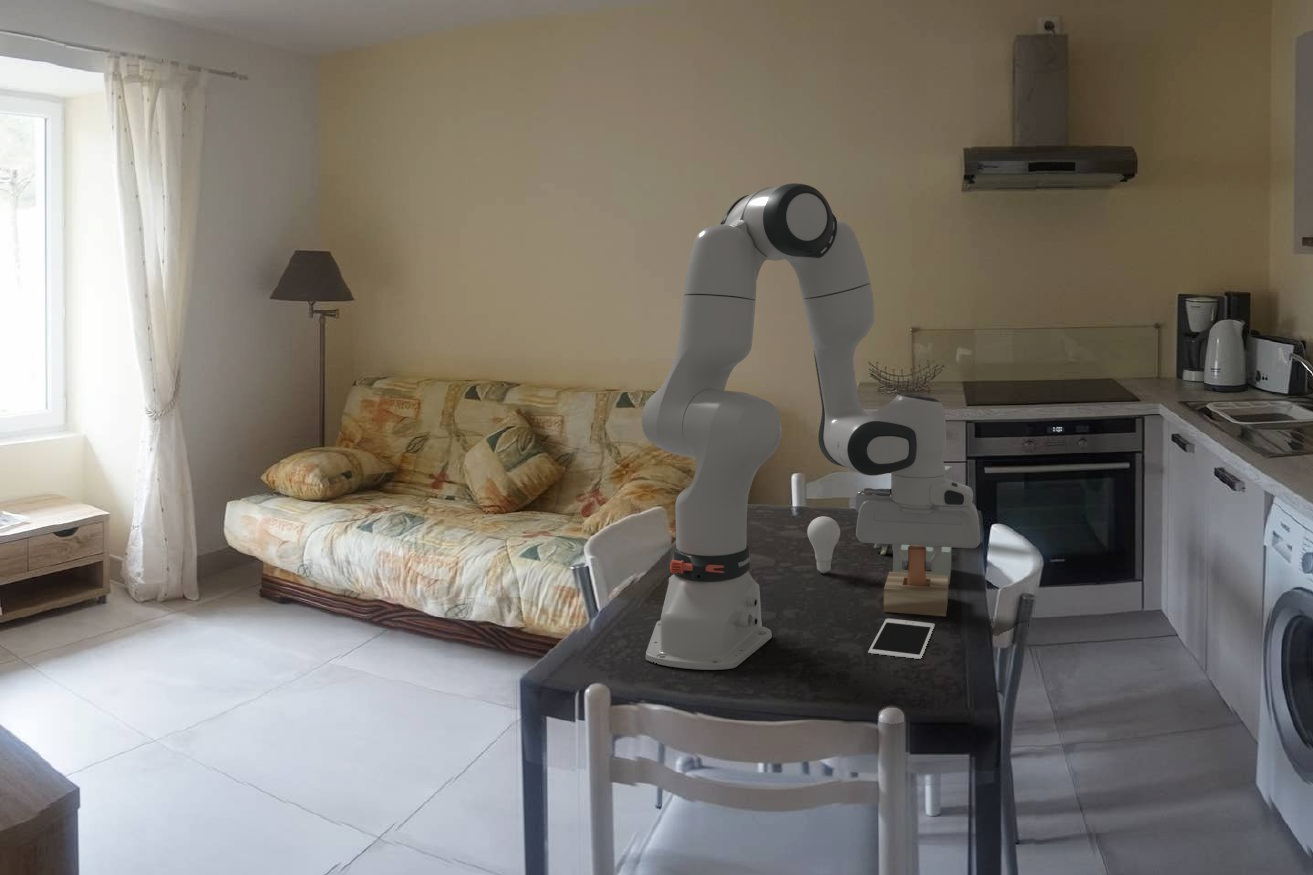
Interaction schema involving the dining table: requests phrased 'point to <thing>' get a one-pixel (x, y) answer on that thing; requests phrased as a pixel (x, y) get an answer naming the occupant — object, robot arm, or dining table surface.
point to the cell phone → (902, 638)
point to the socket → (940, 565)
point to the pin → (917, 565)
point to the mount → (916, 595)
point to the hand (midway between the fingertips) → (916, 569)
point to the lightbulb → (823, 540)
